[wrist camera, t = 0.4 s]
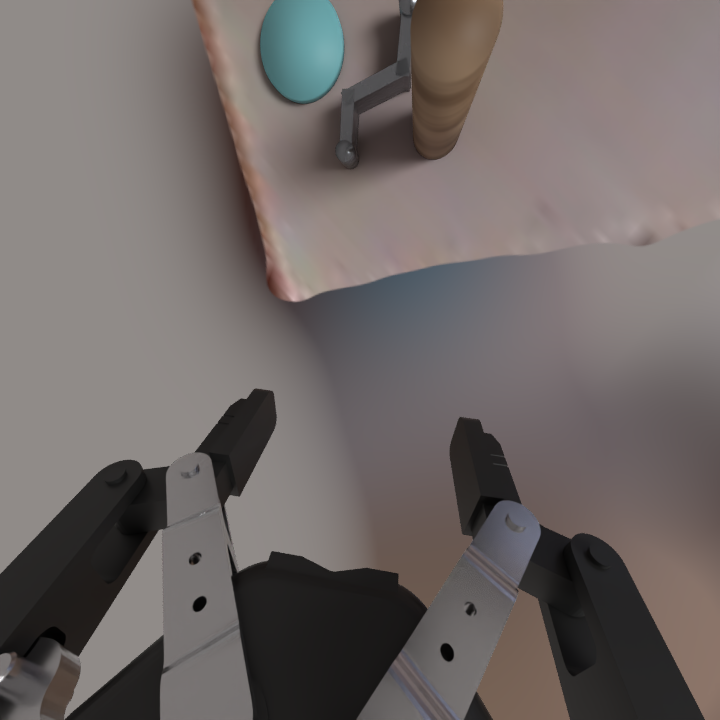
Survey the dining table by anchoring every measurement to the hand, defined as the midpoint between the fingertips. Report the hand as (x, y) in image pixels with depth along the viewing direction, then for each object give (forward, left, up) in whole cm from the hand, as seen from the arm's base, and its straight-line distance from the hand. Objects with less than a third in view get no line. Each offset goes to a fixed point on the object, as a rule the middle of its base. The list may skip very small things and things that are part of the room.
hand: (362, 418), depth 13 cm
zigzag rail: (-20, -8, -26) cm, 34 cm away
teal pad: (-22, -16, -26) cm, 38 cm away
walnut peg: (-18, -1, -26) cm, 32 cm away
